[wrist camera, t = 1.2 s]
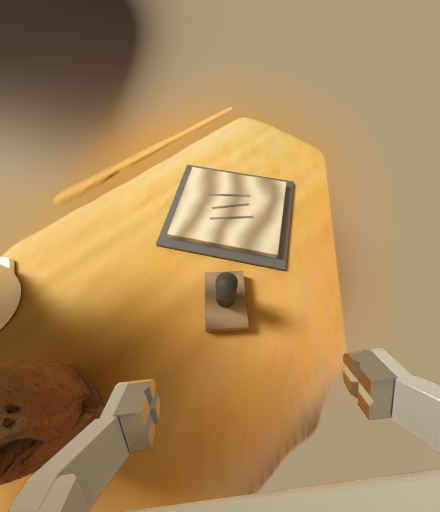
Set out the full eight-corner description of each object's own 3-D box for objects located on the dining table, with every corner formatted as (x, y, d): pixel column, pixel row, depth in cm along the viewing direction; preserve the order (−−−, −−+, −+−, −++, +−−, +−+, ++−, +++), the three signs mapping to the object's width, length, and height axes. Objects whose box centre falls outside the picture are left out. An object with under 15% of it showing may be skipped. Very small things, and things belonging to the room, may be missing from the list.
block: (32, 400, 35) (-163, 430, 17) (73, 357, 38) (-58, 344, 20) (77, 456, 32) (-101, 561, 14) (118, 405, 35) (12, 439, 17)
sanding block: (247, 329, 40) (255, 316, 31) (206, 332, 40) (202, 319, 30) (241, 276, 44) (247, 250, 35) (205, 277, 44) (201, 252, 35)
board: (168, 237, 47) (167, 233, 46) (193, 171, 56) (192, 166, 54) (276, 258, 45) (277, 254, 44) (284, 186, 54) (286, 181, 52)
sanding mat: (156, 245, 47) (156, 244, 47) (187, 166, 57) (187, 164, 57) (284, 270, 45) (285, 269, 44) (293, 183, 55) (293, 181, 54)
